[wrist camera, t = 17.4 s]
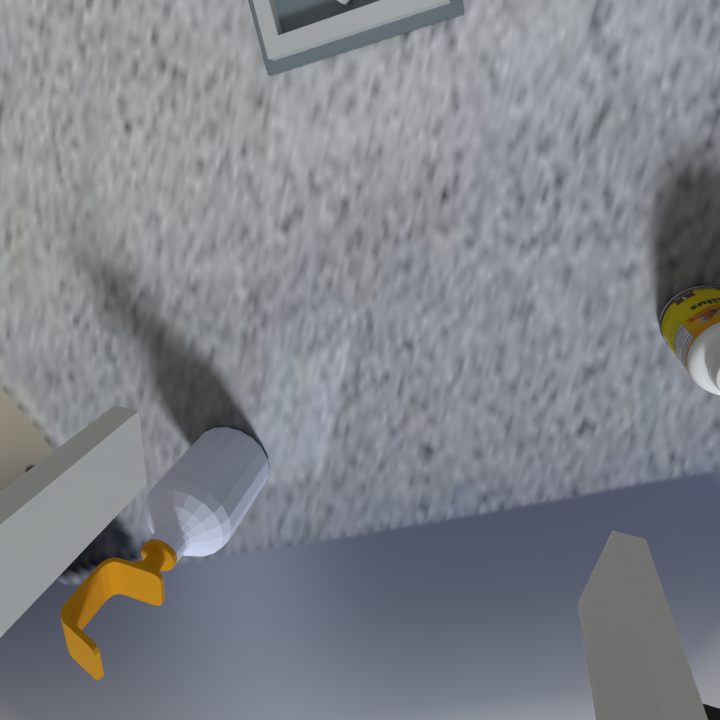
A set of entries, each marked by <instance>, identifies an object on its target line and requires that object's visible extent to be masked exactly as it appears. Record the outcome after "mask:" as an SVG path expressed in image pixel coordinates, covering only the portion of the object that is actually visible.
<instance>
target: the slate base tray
mask: <svg viewBox="0 0 720 720" xmlns="http://www.w3.org/2000/svg"><path fill="white" fill-rule="evenodd" d="M248 1H249V5H250V9H251V12H252V16H253V20H254V24H255V27H256V31H257V35H258V39H259V43H260V46H261V50H262V54H263V58H264V62H265V65H266V69H267V73H268V75H269V76H272V75H275V74H279V73H282V72H285V71H288V70H291V69H294V68H297V67H301V66H304V65H307V64H310V63H313V62H316V61H319V60H323V59H326V58H329V57H332V56H335V55H338V54H341V53H345V52H348V51H351V50H354V49H357V48H360V47H363V46H367V45H370V44H373V43H376V42H379V41H382V40H385V39H389V38H392V37H395V36H398V35H401V34H404V33H407V32H411V31H414V30H417V29H420V28H423V27H426V26H429V25H433V24H436V23H439V22H442V21H445V20H448V19H451V18H455V17H458V16H461V15H464V7H463V0H350V2H349V4H348V5H344V4H342V3H340V2H339V1H337V0H248Z"/></svg>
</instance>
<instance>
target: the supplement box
mask: <svg viewBox="0 0 720 720" xmlns="http://www.w3.org/2000/svg"><path fill="white" fill-rule="evenodd" d="M337 1H339V2H340V3H342V4H344V5H348V4H349V2H350V0H337Z"/></svg>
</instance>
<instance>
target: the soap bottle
mask: <svg viewBox="0 0 720 720" xmlns="http://www.w3.org/2000/svg"><path fill="white" fill-rule="evenodd" d="M268 473H269V466H268V459H267V457H266V455H265V453H264V451H263V449H262V447H261V446H260V445H259V444H258V443H257V442H256V441H255V440H254V439H253V438H252V437H250V436H248V435H247V434H245V433H243V432H242V431H240V430H236V429H233V428H229V427H219V428H213V429H211V430H209V431H207V432H204V433H203V434H202V435H201V436H200V437H199V439H198V440H197V441H196V442H195V443H194V444H193V445H192V446H191V447H190V448H189V449H188V450H187V451H186V453H185V454H184V455H183V456H182V457H181V458H180V459H179V460H178V461H177V462H176V463H175V464H174V466H173V467H172V468H171V469H170V470H169V471H168V472H167V473H166V474H165V475H164V476H163V477H162V478H161V480H160V481H159V482H158V483H157V484H156V485H155V486H154V487H153V489H152V490H151V491H150V493H149V495H148V498H147V501H146V506H145V515H146V519H147V523H148V525H149V528H150V531H151V532H152V534H153V535H152V536H151V537H150V539H149V540H148V541H147V542H146V543H145V545H144V546H143V547H142V550H141V554H142V557H143V559H144V560H143V561H141V560H139V561H135V562H134V563H133V562H130V561H127V560H124V559H121V558H110V559H107V560H105V561H103V562H102V563H101V564H99V565H98V567H97V568H96V569H95V570H94V571H93V572H92V573H91V574H90V576H89V577H88V578H87V579H86V580H85V581H84V582H83V583H82V585H81V586H80V587H79V588H78V589H77V590H76V591H75V592H74V594H73V595H72V596H71V597H70V598H69V599H68V600H67V601H66V603H65V604H64V606H63V607H62V609H61V620H62V625H63V629H64V634H65V639H66V643H67V647H68V651H69V653H70V655H71V657H72V658H74V659H75V660H76V661H77V662H78V663H79V664H80V665H81V666H82V667H83V668H84V669H85V670H86V671H87V672H88V673H89V674H90V675H91V676H92V677H93V678H94V679H96V680H99V679H100V678H101V677H102V676H103V675H104V674H103V668H102V663H101V657H100V651H99V649H98V647H97V646H96V644H95V643H94V642H93V641H92V640H91V639H90V638H89V637H88V636H87V635H86V634H85V633H84V632H83V631H82V629H83V628H84V627H85V626H86V624H87V623H88V622H89V621H90V619H91V618H92V617H93V616H94V614H95V613H96V612H97V611H98V609H99V608H100V607H101V606H102V605H103V603H104V602H105V601H106V600H107V599H109V598H110V597H111V596H113V595H115V594H123V595H126V596H129V597H132V598H135V599H138V600H141V601H144V602H147V603H150V604H153V605H156V606H157V605H158V606H159V605H161V604H162V603H163V601H164V600H165V598H164V583H163V576H162V575H161V574H160V573H159V571H169V570H171V569H172V568H173V567H174V565H175V564H176V563H177V562H178V560H179V559H180V557H181V556H182V555H184V556H206V555H209V554H212V553H215V552H216V551H217V550H219V549H220V548H222V547H223V546H224V545H225V544H226V543H227V542H228V541H229V539H230V538H231V536H232V534H233V533H234V531H235V530H236V528H237V527H238V525H239V523H240V522H241V520H242V519H243V517H244V516H245V514H246V512H247V511H248V509H249V508H250V506H251V504H252V503H253V501H254V500H255V498H256V497H257V495H258V493H259V492H260V490H261V489H262V487H263V486H264V484H265V482H266V480H267V477H268Z"/></svg>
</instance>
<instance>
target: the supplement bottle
mask: <svg viewBox="0 0 720 720" xmlns="http://www.w3.org/2000/svg"><path fill="white" fill-rule="evenodd" d="M660 331H661V334H662V336H663V338H664V340H665V341H666V342H667V344H668V345H669V347H670V348H671V349H672V351H673V352H674V353H675V355H676V356H677V358H678V359H679V360H680V362H681V363H682V365H683V366H684V367H685V369H686V370H687V371H688V373H689V374H690V376H691V377H692V378H693V380H694V381H695V382H696V383H697V384H698V385H699V386H701V387H702V388H703V389H705V390H707V391H709V392H711V393H714V394H717V395H720V287H717V286H710V285H705V286H697V287H693V288H689V289H687V290H684V291H682V292H681V293H679V294H677V295H676V296H675V297H673V298H672V299H671V300H670V301H669V302H668V303H667V305H666V306H665V307H664V309H663V311H662V313H661V316H660Z"/></svg>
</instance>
